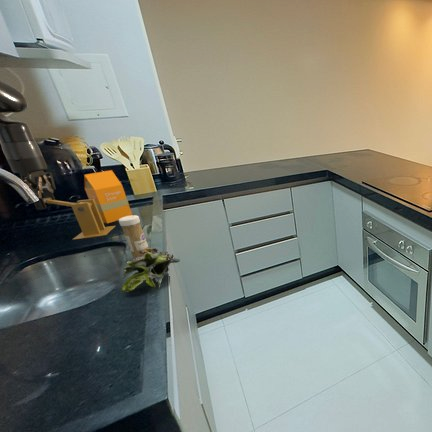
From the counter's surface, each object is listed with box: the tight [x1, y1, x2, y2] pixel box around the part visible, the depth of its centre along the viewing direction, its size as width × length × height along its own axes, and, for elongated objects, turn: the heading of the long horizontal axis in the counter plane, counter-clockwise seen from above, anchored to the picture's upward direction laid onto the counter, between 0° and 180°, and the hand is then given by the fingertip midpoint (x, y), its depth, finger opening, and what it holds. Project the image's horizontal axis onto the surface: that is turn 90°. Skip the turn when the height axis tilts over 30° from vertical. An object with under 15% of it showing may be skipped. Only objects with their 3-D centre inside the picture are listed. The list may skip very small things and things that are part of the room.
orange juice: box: [83, 169, 133, 224], centre depth 117 cm, size 8×9×20 cm
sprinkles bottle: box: [118, 214, 150, 261], centre depth 88 cm, size 5×5×13 cm
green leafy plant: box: [121, 247, 181, 294], centre depth 76 cm, size 11×11×12 cm
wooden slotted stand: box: [70, 198, 116, 241], centre depth 105 cm, size 9×9×13 cm
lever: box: [42, 197, 92, 207], centre depth 101 cm, size 12×5×2 cm, turn 113°
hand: (47, 206), depth 99 cm, fingers closed on lever, 5 cm apart
